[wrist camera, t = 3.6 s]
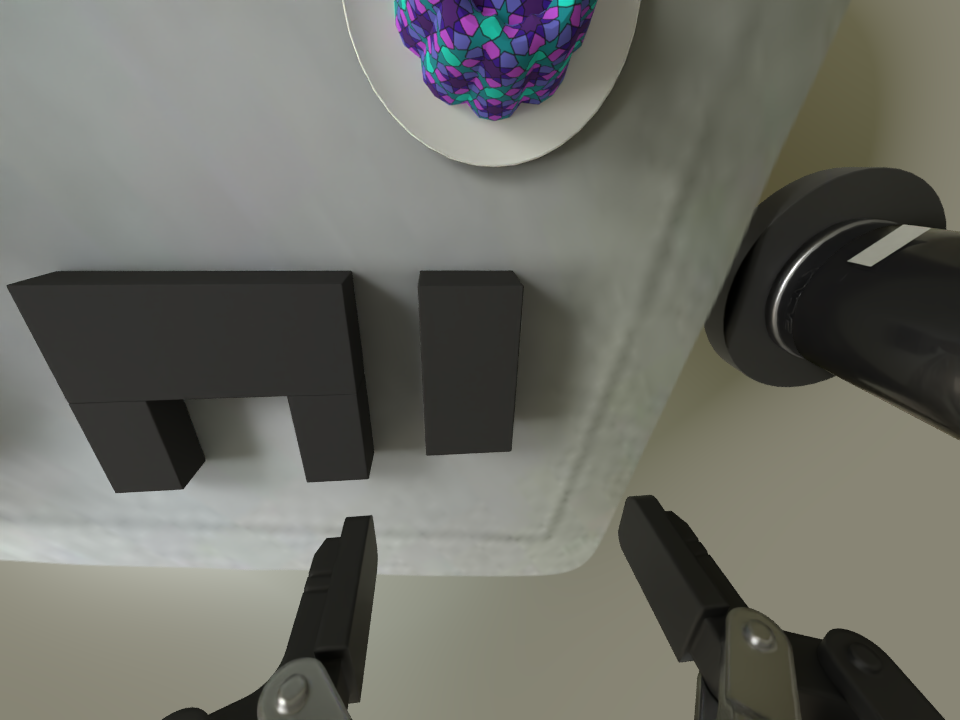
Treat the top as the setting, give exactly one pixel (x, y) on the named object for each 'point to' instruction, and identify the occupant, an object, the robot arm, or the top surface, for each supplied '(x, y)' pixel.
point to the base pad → (202, 362)
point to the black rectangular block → (469, 359)
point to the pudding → (492, 69)
